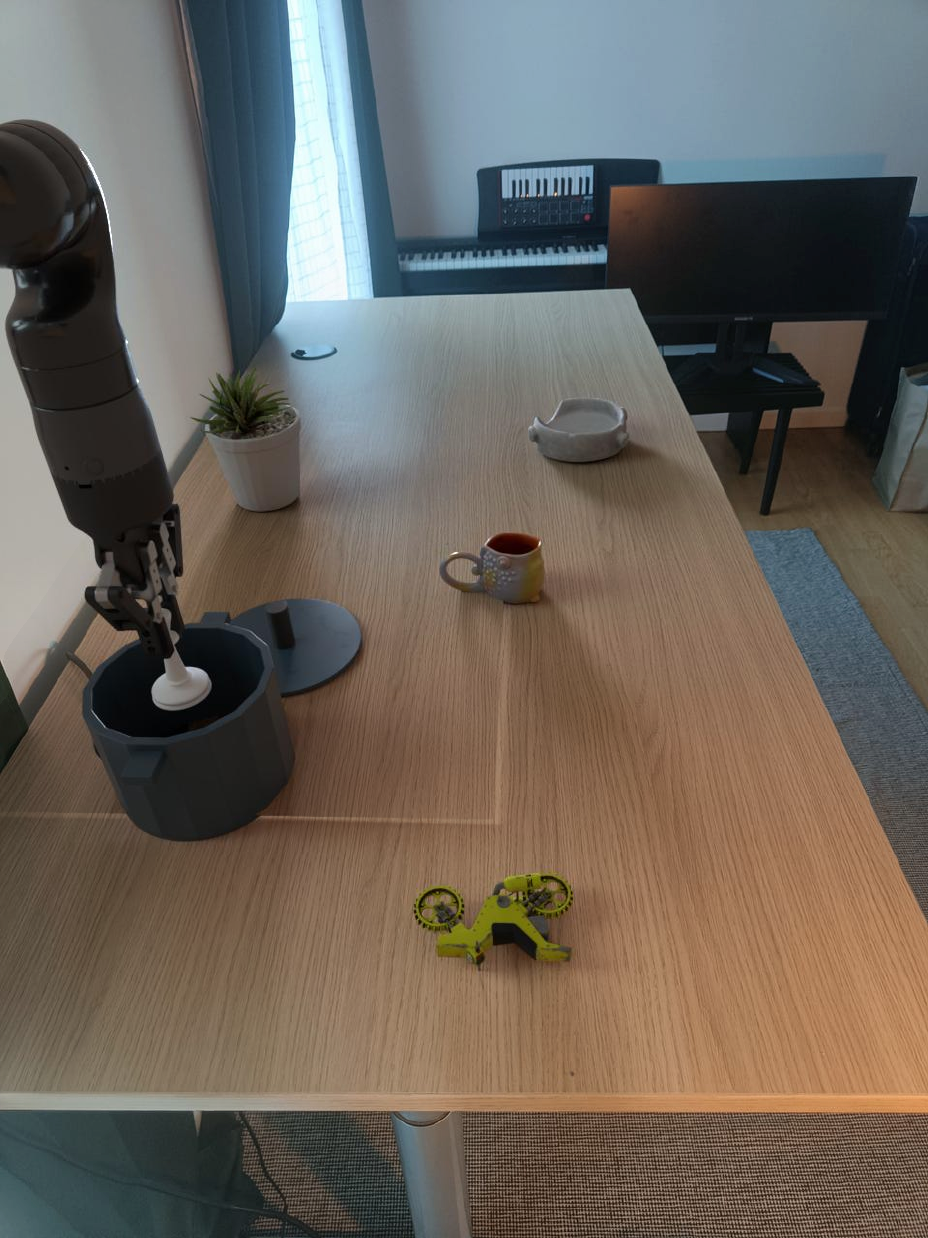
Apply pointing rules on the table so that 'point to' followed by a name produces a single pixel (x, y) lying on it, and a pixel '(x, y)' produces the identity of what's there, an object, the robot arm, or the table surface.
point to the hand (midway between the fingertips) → (166, 644)
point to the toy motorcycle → (499, 919)
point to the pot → (192, 734)
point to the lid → (304, 640)
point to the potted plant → (255, 444)
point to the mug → (503, 568)
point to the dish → (582, 430)
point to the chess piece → (179, 679)
